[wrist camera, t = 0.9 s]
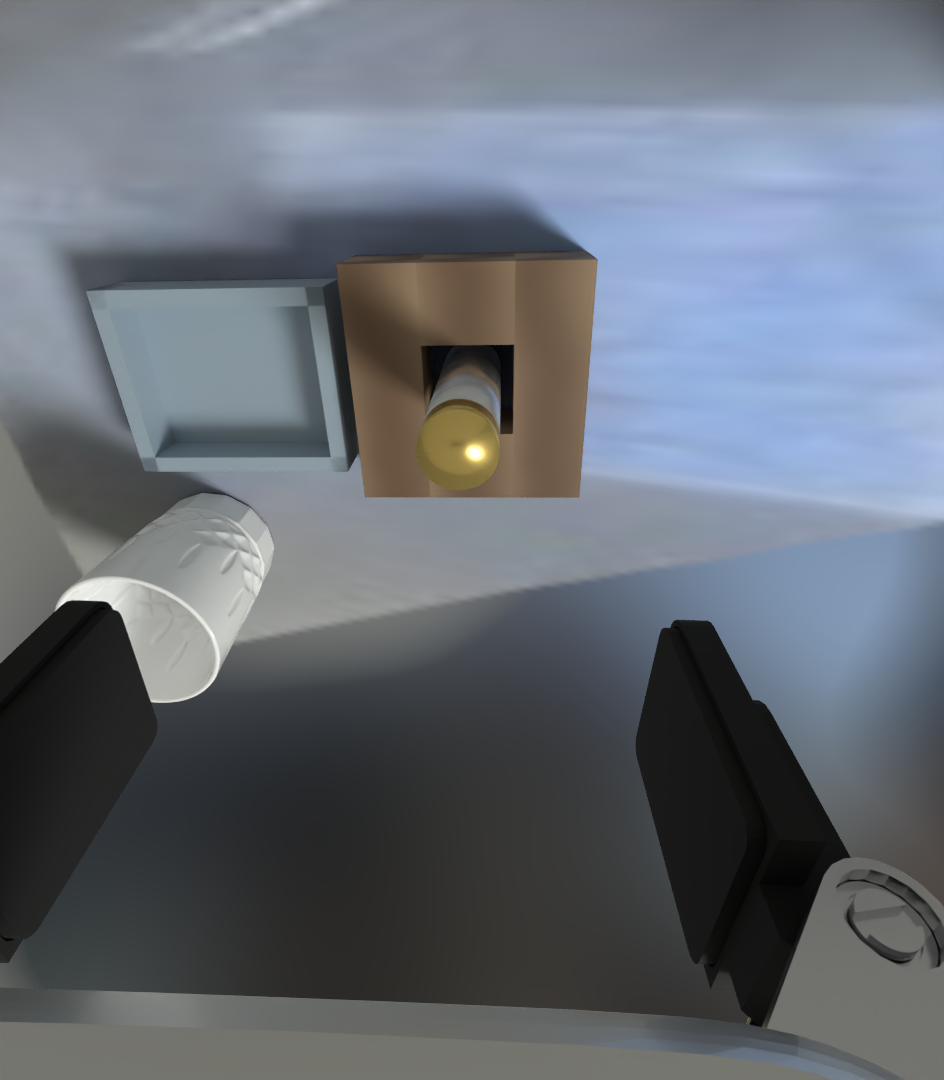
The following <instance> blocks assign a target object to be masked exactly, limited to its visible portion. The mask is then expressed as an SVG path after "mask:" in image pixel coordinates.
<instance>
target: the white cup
mask: <svg viewBox="0 0 944 1080" xmlns="http://www.w3.org/2000/svg"><path fill="white" fill-rule="evenodd" d="M274 548H275V547H274V544H273V541H272V538H271V535H270V532H269V529H268V526H267V525H266V524H265V523H264V522H263V521H262V519H261V518H260V517H259V516H258V515H257V514H256V513H255V512H254V511H253V509H252V508H250V507H249V506H247V505H245V504H243V503H241V502H239V501H237V500H235V499H233V498H231V497H229V496H227V495H218V494H210V493H200V494H197V495H194V496H191V497H188V498H185V499H182V500H180V501H179V502H177V503H176V504H175V505H174V506H173V507H172V508H170V509H169V510H168V511H167V512H166V513H165V514H163V515H162V516H161V517H159V518H157V519H156V520H154V521H152V522H151V523H149V524H148V525H147V526H145V527H144V528H143V529H142V530H141V531H139V532H138V533H137V534H136V535H134V536H132V537H131V538H130V539H128V540H127V541H126V542H125V543H124V544H122V545H121V546H120V547H119V548H117V549H116V550H115V551H114V552H113V553H111V554H110V555H109V556H108V557H107V558H105V559H104V560H103V561H102V562H101V563H99V564H98V565H97V566H96V567H95V568H93V569H92V570H91V571H90V572H88V573H87V574H86V575H85V576H84V577H82V578H81V579H80V580H79V581H77V582H76V583H75V584H74V585H72V586H71V587H70V588H69V589H68V590H66V592H64V594H63V595H62V596H61V597H60V599H59V601H58V603H57V605H56V608H55V611H56V610H57V609H58V608H59V607H60V606H61V605H62V604H64V603H65V602H67V601H71V600H83V601H104V602H108V603H109V604H110V605H111V606H112V608H113V610H117V611H118V612H119V613H120V614H121V616H122V618H123V621H124V624H125V627H126V630H127V633H128V636H129V639H130V642H131V645H132V648H133V651H134V653H135V656H136V659H137V662H138V665H139V668H140V671H141V674H142V677H143V680H144V683H145V686H146V689H147V692H148V695H149V698H150V701H151V702H160V703H167V702H177V701H182V700H186V699H189V698H192V697H194V696H196V695H198V694H200V693H201V692H203V691H204V690H205V689H207V687H209V686H210V684H211V683H212V682H213V681H214V679H215V677H216V675H217V674H218V672H219V670H220V668H221V666H222V664H223V662H224V660H225V658H226V656H227V654H228V652H229V650H230V648H231V646H232V645H233V643H234V641H235V639H236V637H237V635H238V633H239V631H240V629H241V627H242V626H243V624H244V622H245V620H246V618H247V616H248V614H249V612H250V609H251V607H252V605H253V603H254V601H255V599H256V597H257V595H258V593H259V590H260V588H261V585H262V582H263V580H264V578H265V577H266V575H267V573H268V571H269V569H270V567H271V563H272V558H273V553H274Z"/></svg>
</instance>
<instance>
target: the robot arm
mask: <svg viewBox="0 0 944 1080" xmlns="http://www.w3.org/2000/svg"><path fill="white" fill-rule="evenodd" d="M156 733H157V719H156V716H155V713H154V710H153V707H152V704H151V701H150V698H149V695H148V692H147V689H146V686H145V683H144V680H143V677H142V674H141V671H140V668H139V665H138V662H137V659H136V656H135V653H134V651H133V648H132V645H131V642H130V639H129V636H128V633H127V630H126V627H125V624H124V621H123V618H122V616H121V614H120V613H119V612H118V611H117V610H113V608H112V606H111V605H110V604H109V603H108V602H104V601H83V600H71V601H67V602H65V603H64V604H62V605H61V606H60V607H59V608H58V609H57V610H56V611H55V612H54V613H53V614H52V615H51V616H50V617H49V618H48V619H47V620H45V621H44V622H43V623H42V624H41V625H40V626H39V627H38V628H37V629H36V630H35V631H34V632H33V633H32V634H31V635H30V636H29V637H28V638H27V639H26V640H25V641H24V642H23V643H21V644H20V645H19V647H17V648H16V649H15V650H14V651H13V652H12V653H11V654H10V655H9V656H8V657H7V658H6V659H5V660H4V661H3V662H2V663H0V963H8V962H9V961H10V959H11V958H12V956H13V955H14V953H15V951H16V950H17V948H18V946H19V945H20V943H21V942H22V940H23V939H26V938H28V937H30V936H31V935H33V933H35V932H36V930H37V929H38V928H39V926H40V925H41V924H42V921H43V920H44V918H45V917H46V915H47V914H48V912H49V910H50V909H51V907H52V906H53V904H54V902H55V901H56V899H57V897H58V896H59V894H60V893H61V891H62V889H63V888H64V886H65V884H66V883H67V881H68V880H69V878H70V876H71V875H72V873H73V871H74V870H75V868H76V867H77V865H78V863H79V862H80V860H81V858H82V857H83V855H84V853H85V852H86V850H87V849H88V847H89V845H90V844H91V842H92V841H93V839H94V837H95V836H96V834H97V832H98V831H99V829H100V828H101V826H102V824H103V823H104V821H105V819H106V818H107V816H108V814H109V813H110V811H111V809H112V808H113V806H114V805H115V803H116V802H117V800H118V798H119V797H120V795H121V793H122V792H123V790H124V789H125V787H126V785H127V784H128V782H129V780H130V779H131V777H132V775H133V774H134V772H135V771H136V769H137V767H138V766H139V764H140V762H141V761H142V759H143V758H144V756H145V754H146V753H147V751H148V749H149V748H150V746H151V745H152V743H153V741H154V739H155V736H156ZM636 755H637V760H638V763H639V767H640V771H641V775H642V778H643V782H644V786H645V789H646V793H647V797H648V801H649V805H650V808H651V812H652V816H653V819H654V823H655V827H656V831H657V834H658V838H659V842H660V846H661V850H662V853H663V857H664V861H665V864H666V868H667V872H668V876H669V880H670V883H671V887H672V891H673V894H674V898H675V902H676V906H677V909H678V913H679V916H680V921H681V925H682V928H683V932H684V936H685V940H686V943H687V947H688V950H689V953H690V956H691V958H692V960H693V962H694V963H695V964H704V968H705V971H706V975H707V978H708V982H709V985H710V989H715V990H716V989H717V990H735V992H736V995H737V998H738V1001H739V1004H740V1008H741V1010H742V1011H743V1012H744V1013H745V1014H746V1015H747V1016H748V1017H749V1018H748V1021H747V1023H746V1024H741V1023H731V1022H723V1021H715V1020H706V1019H698V1018H689V1017H678V1016H661V1015H645V1014H630V1013H614V1012H598V1011H582V1010H566V1009H544V1008H520V1007H498V1006H475V1005H451V1004H429V1003H406V1002H383V1001H357V1000H330V999H306V998H281V997H254V996H227V995H200V994H173V993H144V992H143V993H142V992H115V991H84V990H53V989H23V988H0V1080H944V907H943V906H942V905H941V903H940V902H939V901H938V900H937V899H936V898H935V897H934V896H933V895H932V894H930V893H929V892H928V891H927V890H926V889H925V888H924V887H923V886H922V885H921V884H919V883H918V882H916V881H915V880H913V879H912V878H911V877H909V876H907V875H906V874H904V873H903V872H902V871H900V870H897V869H895V868H893V867H891V866H889V865H887V864H884V863H882V862H879V861H875V860H870V859H866V858H862V857H861V858H851V857H850V856H849V854H848V852H847V850H846V848H845V847H844V845H843V843H842V841H841V839H840V837H839V836H838V834H837V832H836V830H835V828H834V826H833V825H832V823H831V821H830V819H829V817H828V816H827V814H826V812H825V810H824V808H823V807H822V805H821V803H820V801H819V799H818V797H817V796H816V794H815V792H814V790H813V788H812V787H811V785H810V783H809V781H808V779H807V777H806V776H805V774H804V772H803V770H802V768H801V766H800V765H799V763H798V761H797V759H796V757H795V756H794V754H793V752H792V750H791V748H790V746H789V745H788V743H787V741H786V739H785V738H784V736H783V734H782V732H781V730H780V729H779V726H778V725H777V723H776V721H775V719H774V717H773V716H772V714H771V712H770V711H769V709H768V708H767V706H766V705H765V704H764V703H762V702H761V701H757V700H752V698H751V696H750V694H749V692H748V690H747V689H746V687H745V685H744V683H743V681H742V679H741V677H740V675H739V673H738V672H737V670H736V668H735V666H734V664H733V662H732V660H731V658H730V657H729V654H728V653H727V651H726V649H725V647H724V645H723V643H722V641H721V639H720V637H719V636H718V634H717V632H716V630H715V628H714V626H713V625H712V623H711V622H709V621H695V620H675V621H674V622H673V623H672V625H671V628H663V629H662V630H661V633H660V635H659V640H658V644H657V649H656V653H655V657H654V661H653V666H652V670H651V675H650V679H649V683H648V688H647V692H646V696H645V701H644V705H643V709H642V714H641V718H640V722H639V727H638V732H637V736H636Z"/></svg>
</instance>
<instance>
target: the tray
mask: <svg viewBox="0 0 944 1080" xmlns="http://www.w3.org/2000/svg"><path fill="white" fill-rule="evenodd" d="M86 293H87V296H88V300H89V303H90V306H91V309H92V312H93V315H94V318H95V321H96V324H97V327H98V330H99V333H100V336H101V339H102V342H103V345H104V348H105V352H106V355H107V358H108V361H109V364H110V367H111V370H112V373H113V376H114V379H115V382H116V385H117V388H118V391H119V394H120V397H121V401H122V404H123V407H124V410H125V413H126V416H127V419H128V422H129V425H130V428H131V431H132V434H133V437H134V440H135V443H136V446H137V449H138V453H139V456H140V459H141V462H142V465H143V468H144V471H145V472H348V471H349V469H350V467H351V465H352V463H353V462H354V460H355V458H356V456H357V454H358V453H359V444H358V436H357V428H356V420H355V412H354V404H353V396H352V388H351V380H350V372H349V364H348V356H347V348H346V340H345V332H344V324H343V316H342V308H341V300H340V292H339V285H338V278H323V279H267V280H210V281H154V282H120V283H116V284H112V285H108V286H104V287H99V288H95V289H91V290H87V291H86Z"/></svg>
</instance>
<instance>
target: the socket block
mask: <svg viewBox="0 0 944 1080" xmlns="http://www.w3.org/2000/svg"><path fill="white" fill-rule="evenodd" d="M597 261H598V259H596V258H595V257H594V256H592V255H591V254H590V253H588V252H587V251H554V252H503V253H452V254H401V255H356V256H354V257H351V258H349V259H347V260H345V261H342V262H340V263H338V264H336V269H337V277H338V285H339V292H340V300H341V308H342V316H343V324H344V332H345V340H346V348H347V356H348V364H349V372H350V380H351V388H352V396H353V404H354V412H355V420H356V428H357V436H358V444H359V452H360V460H361V468H362V476H363V484H364V492H365V497H579V493H580V480H581V467H582V454H583V441H584V428H585V415H586V402H587V390H588V377H589V364H590V351H591V338H592V325H593V312H594V299H595V286H596V274H597ZM440 345H513V378H512V408H500V453H499V461H498V464H497V467H496V469H495V471H494V472H493V474H492V475H491V476H490V477H489V479H488V480H486V481H485V482H484V483H482V484H481V485H479V486H477V487H475V488H472V489H468V490H451V489H446V488H443V487H441V486H439V485H437V484H435V483H434V482H432V481H431V480H430V479H429V478H428V477H427V476H426V475H425V474H424V473H423V471H422V469H421V468H420V466H419V463H418V460H417V456H416V444H417V440H418V436H419V434H420V431H421V428H422V425H423V422H424V419H425V416H426V413H427V411H428V408H429V405H430V402H431V399H432V396H433V393H434V385H433V367H432V349H431V346H440Z"/></svg>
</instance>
